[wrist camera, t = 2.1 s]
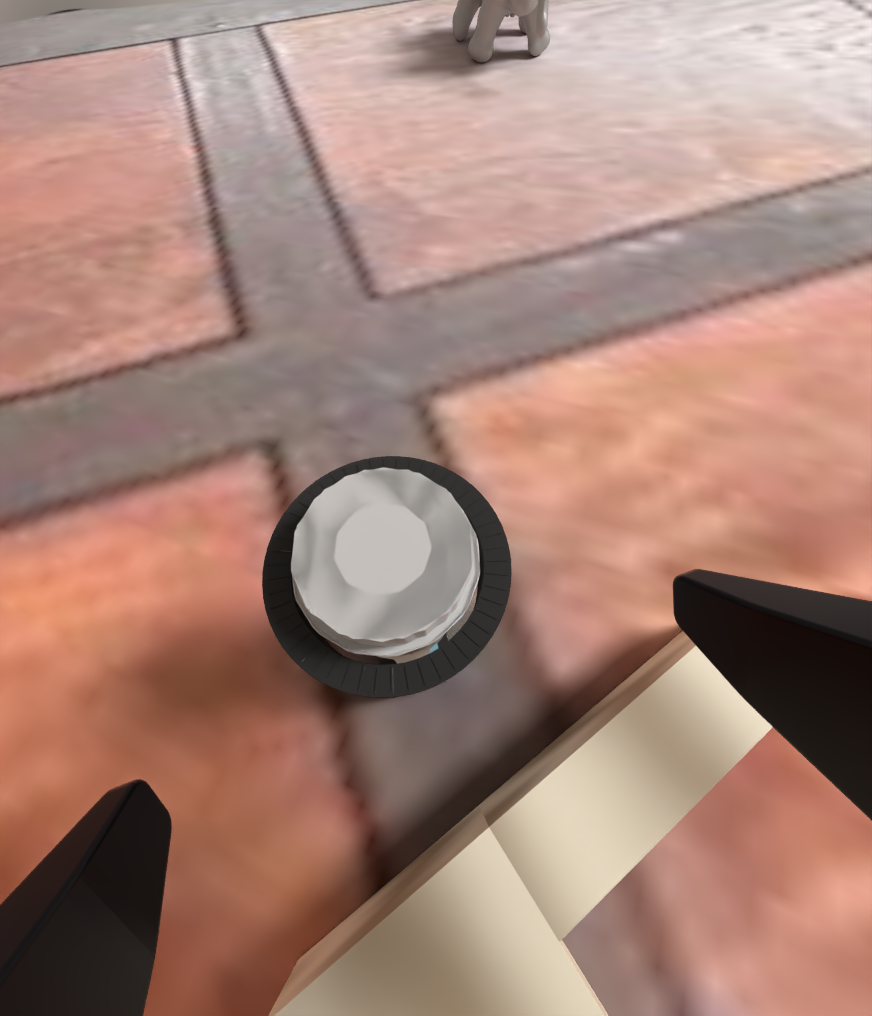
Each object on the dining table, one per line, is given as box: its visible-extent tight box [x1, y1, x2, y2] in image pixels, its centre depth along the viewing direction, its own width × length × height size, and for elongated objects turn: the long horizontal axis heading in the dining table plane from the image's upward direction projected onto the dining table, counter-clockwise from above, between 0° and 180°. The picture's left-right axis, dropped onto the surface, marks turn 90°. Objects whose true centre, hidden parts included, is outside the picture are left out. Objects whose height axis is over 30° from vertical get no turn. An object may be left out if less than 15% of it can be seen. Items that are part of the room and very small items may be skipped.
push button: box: [262, 456, 511, 698], centre depth 13 cm, size 7×5×10 cm
